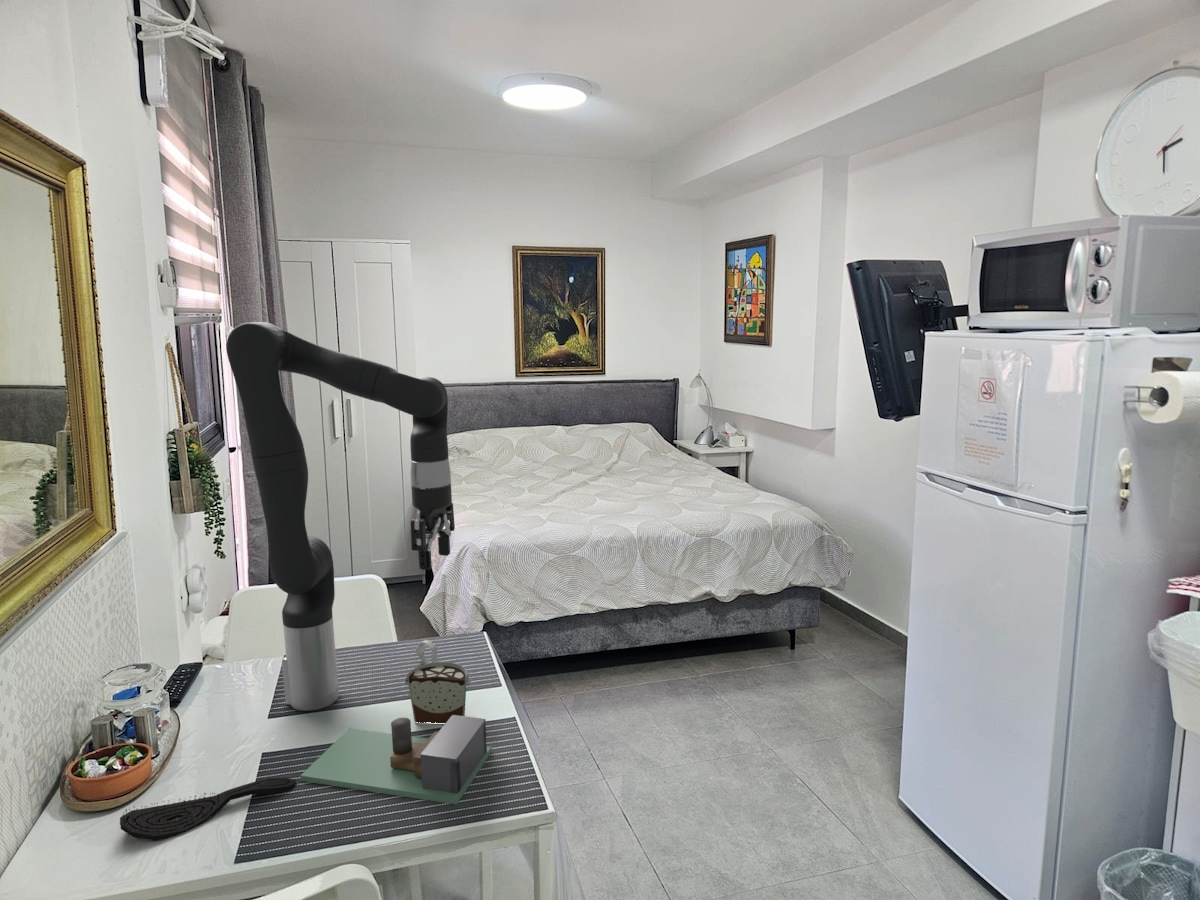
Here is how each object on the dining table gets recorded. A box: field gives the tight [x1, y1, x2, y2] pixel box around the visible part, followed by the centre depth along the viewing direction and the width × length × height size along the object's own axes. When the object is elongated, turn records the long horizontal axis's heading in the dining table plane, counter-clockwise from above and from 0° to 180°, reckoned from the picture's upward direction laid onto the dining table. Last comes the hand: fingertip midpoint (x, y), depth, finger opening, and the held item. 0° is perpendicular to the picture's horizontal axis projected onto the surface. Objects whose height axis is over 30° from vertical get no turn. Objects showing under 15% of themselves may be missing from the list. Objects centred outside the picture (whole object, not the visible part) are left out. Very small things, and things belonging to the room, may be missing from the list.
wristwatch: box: [414, 639, 438, 664], centre depth 172 cm, size 3×5×5 cm, turn 54°
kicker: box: [390, 717, 439, 778], centre depth 133 cm, size 7×8×7 cm
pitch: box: [300, 727, 492, 805], centre depth 135 cm, size 28×15×1 cm, turn 76°
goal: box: [420, 715, 488, 794], centre depth 132 cm, size 6×12×6 cm, turn 166°
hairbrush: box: [119, 777, 297, 842], centre depth 124 cm, size 8×4×25 cm
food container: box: [404, 661, 471, 723], centre depth 150 cm, size 12×6×10 cm, turn 84°
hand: (435, 561), depth 154 cm, fingers open, 8 cm apart
